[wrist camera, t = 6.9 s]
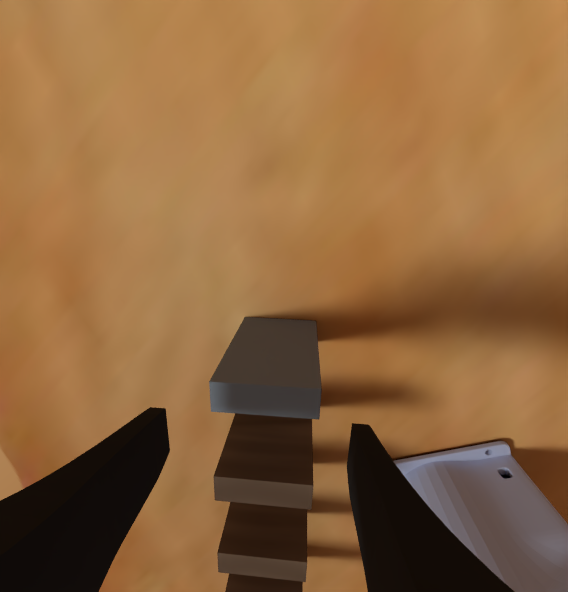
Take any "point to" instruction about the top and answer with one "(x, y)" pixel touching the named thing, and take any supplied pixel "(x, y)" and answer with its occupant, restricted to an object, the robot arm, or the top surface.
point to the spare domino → (270, 370)
